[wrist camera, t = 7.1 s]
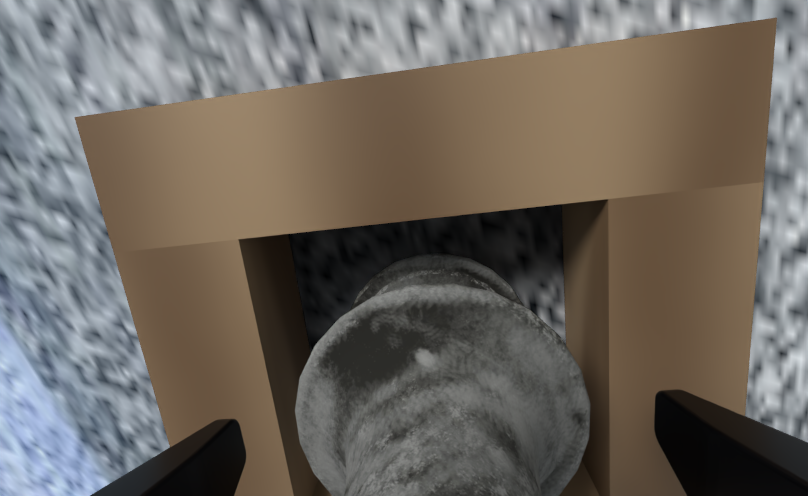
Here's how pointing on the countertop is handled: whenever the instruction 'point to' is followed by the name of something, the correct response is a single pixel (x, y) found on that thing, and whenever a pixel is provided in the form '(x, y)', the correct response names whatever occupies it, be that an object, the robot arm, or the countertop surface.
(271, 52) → the countertop surface
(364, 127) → the socket block
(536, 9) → the countertop surface
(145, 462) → the robot arm
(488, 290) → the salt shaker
